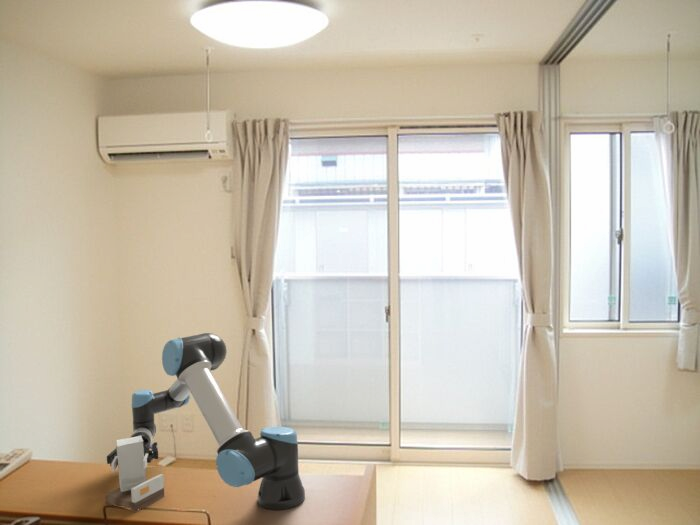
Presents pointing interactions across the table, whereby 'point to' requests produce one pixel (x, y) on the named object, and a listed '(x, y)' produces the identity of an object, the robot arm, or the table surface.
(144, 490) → the square wooden base
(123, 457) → the skincare box
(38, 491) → the table surface
